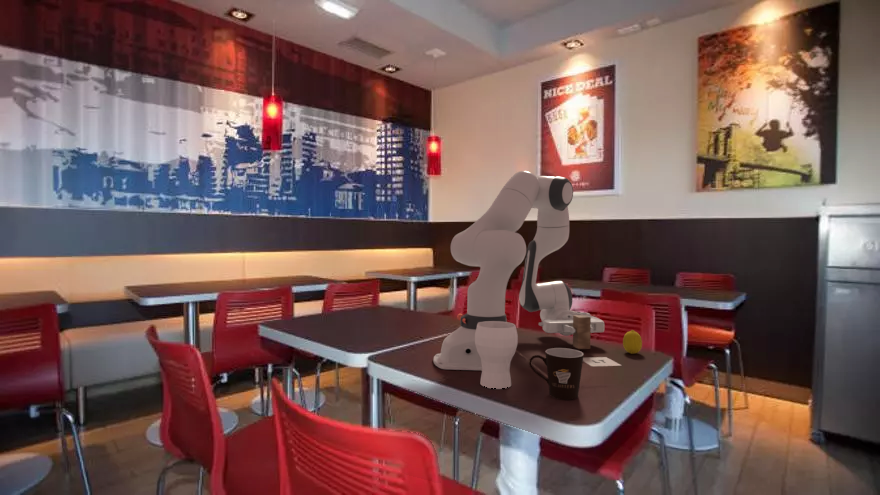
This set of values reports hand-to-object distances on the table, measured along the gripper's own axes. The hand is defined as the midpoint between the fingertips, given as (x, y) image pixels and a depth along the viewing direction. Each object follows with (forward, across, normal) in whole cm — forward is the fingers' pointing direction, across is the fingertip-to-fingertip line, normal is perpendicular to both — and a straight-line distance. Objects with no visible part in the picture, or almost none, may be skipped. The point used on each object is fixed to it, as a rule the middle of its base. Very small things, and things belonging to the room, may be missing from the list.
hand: (582, 330), depth 141 cm
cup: (+26, -35, +8) cm, 44 cm away
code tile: (+11, 0, +7) cm, 13 cm away
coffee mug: (+34, -22, +8) cm, 41 cm away
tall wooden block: (-1, 0, +6) cm, 6 cm away
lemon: (+3, +15, +8) cm, 17 cm away
